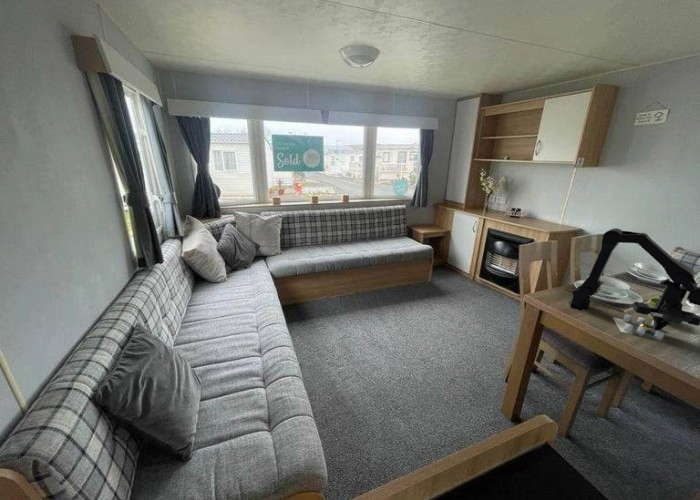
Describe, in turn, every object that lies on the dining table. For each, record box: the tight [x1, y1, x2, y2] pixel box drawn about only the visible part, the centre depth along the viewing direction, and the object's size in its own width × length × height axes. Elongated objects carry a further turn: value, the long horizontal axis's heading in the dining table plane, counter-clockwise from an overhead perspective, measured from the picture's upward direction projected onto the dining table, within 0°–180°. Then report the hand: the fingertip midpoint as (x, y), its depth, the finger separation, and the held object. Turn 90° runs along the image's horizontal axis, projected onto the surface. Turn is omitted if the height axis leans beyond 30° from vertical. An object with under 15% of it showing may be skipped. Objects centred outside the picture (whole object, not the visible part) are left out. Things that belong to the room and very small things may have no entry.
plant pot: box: [647, 297, 660, 320], centre depth 129 cm, size 9×9×9 cm
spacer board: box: [612, 313, 666, 343], centre depth 122 cm, size 15×12×4 cm
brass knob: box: [637, 322, 652, 333], centre depth 121 cm, size 4×4×3 cm
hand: (656, 330), depth 120 cm, fingers closed
